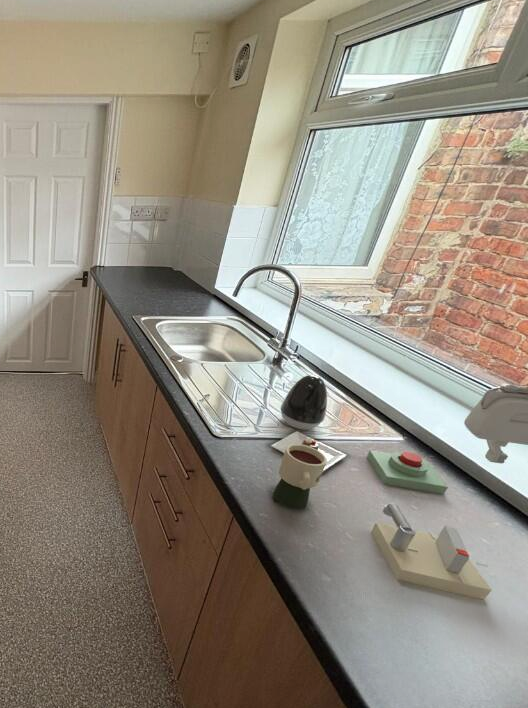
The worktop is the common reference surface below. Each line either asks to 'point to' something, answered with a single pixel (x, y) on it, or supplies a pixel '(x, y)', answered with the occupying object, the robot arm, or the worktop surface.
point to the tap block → (428, 564)
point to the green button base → (406, 473)
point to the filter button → (410, 459)
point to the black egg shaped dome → (305, 403)
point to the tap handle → (452, 549)
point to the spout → (399, 528)
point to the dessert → (302, 439)
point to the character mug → (298, 475)
